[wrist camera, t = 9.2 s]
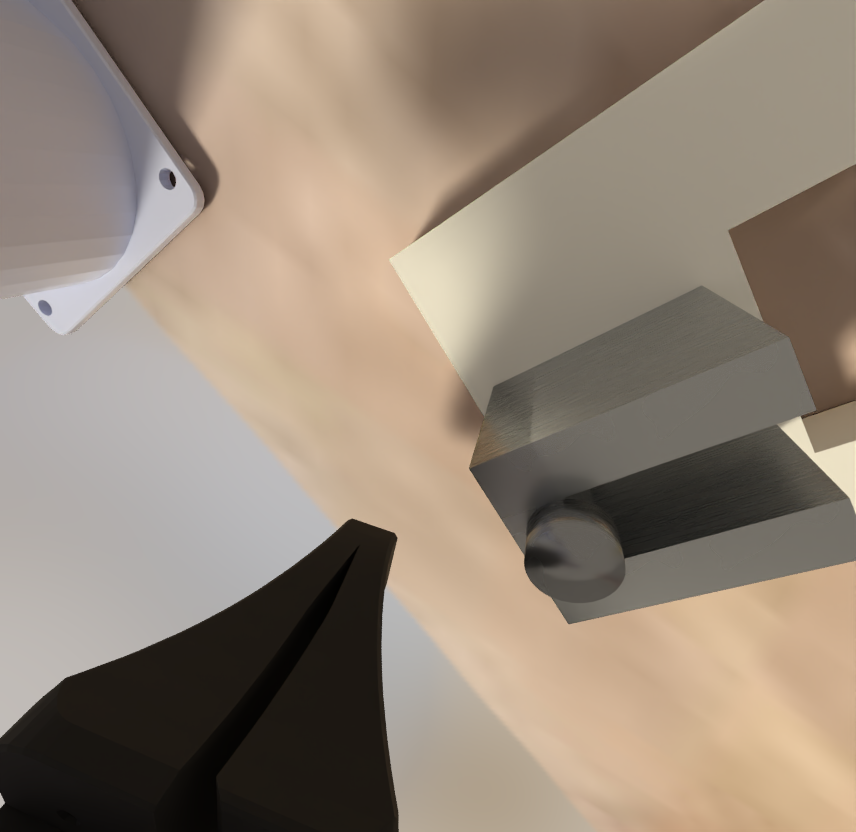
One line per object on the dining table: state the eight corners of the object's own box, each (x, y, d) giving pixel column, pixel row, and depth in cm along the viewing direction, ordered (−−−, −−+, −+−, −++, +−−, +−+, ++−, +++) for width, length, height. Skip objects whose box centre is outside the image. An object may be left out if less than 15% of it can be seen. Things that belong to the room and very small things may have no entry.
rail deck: (406, 252, 12) (374, 265, 10) (1197, -290, 6) (1531, -539, 4) (598, 576, 15) (606, 640, 13) (1253, 405, 9) (1463, 469, 7)
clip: (493, 386, 12) (460, 493, 7) (702, 285, 10) (819, 356, 5) (563, 505, 13) (570, 660, 8) (765, 437, 11) (907, 596, 6)
